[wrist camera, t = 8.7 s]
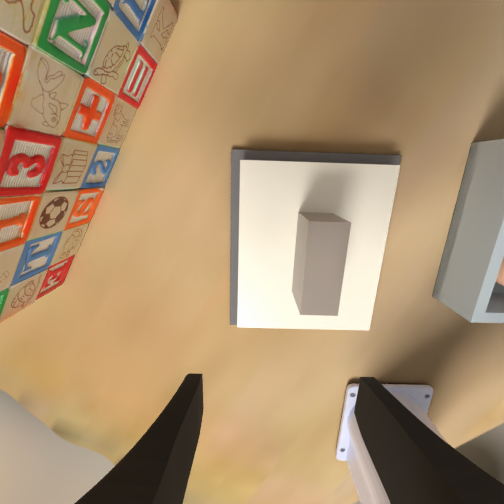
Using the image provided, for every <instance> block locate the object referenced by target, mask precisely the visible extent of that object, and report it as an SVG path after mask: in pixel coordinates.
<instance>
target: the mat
mask: <svg viewBox="0 0 504 504" xmlns="http://www.w3.org/2000/svg"><path fill="white" fill-rule="evenodd" d="M401 156H402V155H381V154H352V153H323V152H294V151H265V150H236V149H231V249H230V325H237V311H238V253H239V195H240V160H261V161H290V162H320V163H349V164H379V165H400V161H401Z"/></svg>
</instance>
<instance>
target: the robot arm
mask: <svg viewBox="0 0 504 504" xmlns="http://www.w3.org/2000/svg"><path fill="white" fill-rule="evenodd" d="M351 393H352V394H351ZM432 395H433V389H432V387H431V386H429V385H405V384H381V383H379V382H378V381H377V380H376V379H375V378H374V377H360V383H359V384H354V383H353V384H349V385H348V386H347V390H346V396H345V402H344V408H343V413H342V419H341V425H340V431H339V437H338V442H337V448H336V458H337V459H338V460H341V461H347V463H348V466H349V469H350V472H351V475H352V478H353V481H354V484H355V487H356V490H357V493H358V496H359V499H360V502H361V504H504V484H502V483H501V482H499V481H498V480H496V479H495V478H493V477H492V476H490V475H489V474H487V473H486V472H485V471H483V470H482V469H480V468H479V467H478V466H476V465H475V464H473V463H472V462H471V461H470V460H468V459H467V458H466V457H464V456H463V455H462V454H460V453H459V452H458V451H456V450H455V449H454V448H453V447H451V446H450V445H449V444H448V443H447V442H446V440H445V439H444V438H443V436H442V435H441V434H440V432H439V431H438V429H437V428H436V427H435V425H434V424H433V423H432V421H431V420H430V418H429V417H428V416H427V412H428V408H429V405H430V402H431V398H432ZM202 415H203V380H202V374H188V375H187V376H186V377H185V379H184V381H183V382H182V384H181V385H180V387H179V389H178V390H177V392H176V393H175V395H174V396H173V398H172V399H171V400H170V402H169V403H168V405H167V406H166V407H165V409H164V410H163V411H162V413H161V414H160V415H159V417H158V418H157V419H156V421H155V422H154V423H153V424H152V425H151V427H150V428H149V429H148V430H147V432H146V433H145V434H144V435H143V436H142V438H141V439H140V440H139V441H138V442H137V443H136V445H135V446H134V447H133V448H132V449H131V450H130V451H129V452H128V453H127V454H126V455H125V456H124V458H123V459H122V460H121V461H120V462H119V463H118V464H117V465H116V466H115V467H114V468H113V469H112V470H111V471H110V472H109V473H108V474H107V475H106V476H105V477H104V478H103V479H101V480H100V481H99V482H98V483H97V484H96V485H95V486H94V487H93V488H92V489H91V490H89V491H88V492H87V493H86V494H85V495H84V496H83V497H82V498H80V499H79V500H78V501H77V502H76V503H75V504H183V499H184V495H185V491H186V487H187V483H188V479H189V475H190V471H191V467H192V463H193V459H194V455H195V451H196V447H197V443H198V439H199V435H200V428H201V422H202Z"/></svg>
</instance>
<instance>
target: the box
mask: <svg viewBox="0 0 504 504" xmlns="http://www.w3.org/2000/svg"><path fill="white" fill-rule="evenodd" d="M432 297H434V298H435V299H437V300H438V301H440V302H441V303H443V304H444V305H446V306H447V307H449V308H450V309H451V310H453V311H454V312H456V313H457V314H459V315H460V316H462V317H463V318H465V319H466V320H468V321H469V322H471V323H504V139H498V140H490V141H482V142H475V143H472V145H471V149H470V152H469V156H468V160H467V164H466V168H465V172H464V176H463V179H462V183H461V187H460V191H459V195H458V199H457V203H456V206H455V210H454V214H453V218H452V222H451V226H450V230H449V233H448V237H447V241H446V245H445V249H444V253H443V257H442V260H441V264H440V268H439V272H438V276H437V280H436V284H435V287H434V291H433V295H432Z"/></svg>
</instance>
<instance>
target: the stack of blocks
mask: <svg viewBox="0 0 504 504" xmlns="http://www.w3.org/2000/svg"><path fill="white" fill-rule="evenodd" d="M177 19H178V16H177V14H176V11H175V9H174V7H173V5H172V3H171V1H170V0H0V322H2V321H4V320H5V319H7V318H9V317H10V316H12V315H14V314H15V313H17V312H19V311H20V310H22V309H24V308H25V307H27V306H29V305H30V304H32V303H33V302H34V301H35V300H37V299H38V298H40V297H42V296H44V295H46V294H47V293H49V292H51V291H52V290H54V289H56V288H57V287H59V286H60V285H62V284H63V282H64V280H65V277H66V275H67V272H68V270H69V267H70V265H71V263H72V259H73V258H74V254H76V253H77V251H78V249H79V247H80V244H81V242H82V240H83V237H84V235H85V233H86V230H87V228H88V225H89V222H90V221H91V219H92V217H93V214H94V212H95V210H96V207H97V205H98V203H99V201H100V198H101V196H102V193H103V191H104V185H105V184H106V182H107V179H108V177H109V174H110V172H111V170H112V167H113V165H114V163H115V160H116V158H117V156H118V154H119V149H120V147H121V146H122V143H123V141H124V139H125V136H126V134H127V132H128V129H129V127H130V124H131V122H132V120H133V117H134V115H135V113H136V110H137V109H138V108H139V106H140V104H141V102H142V99H143V97H144V95H145V92H146V90H147V88H148V85H149V83H150V81H151V79H152V76H153V74H154V72H155V69H156V67H157V64H158V63H159V61H160V59H161V57H162V54H163V52H164V50H165V47H166V45H167V43H168V41H169V38H170V36H171V34H172V31H173V29H174V27H175V24H176V22H177Z"/></svg>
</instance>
